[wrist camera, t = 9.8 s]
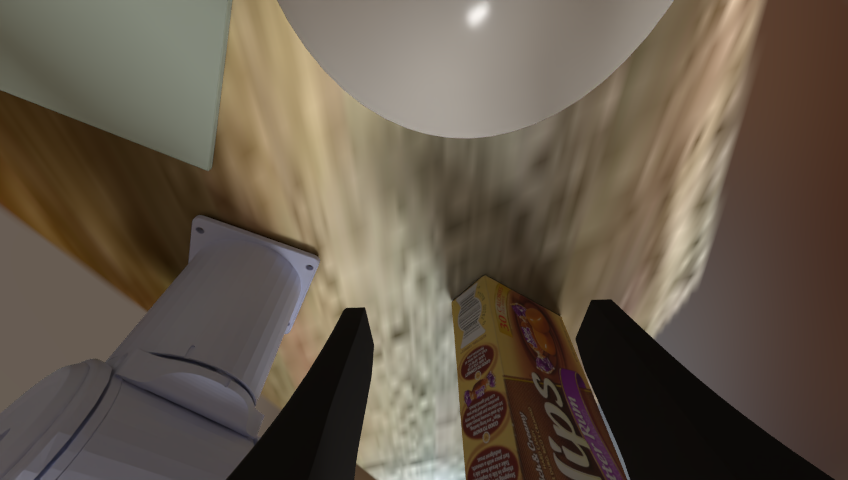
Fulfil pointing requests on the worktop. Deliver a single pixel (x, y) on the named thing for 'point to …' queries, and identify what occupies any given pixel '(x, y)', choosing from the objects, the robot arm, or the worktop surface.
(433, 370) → the worktop surface
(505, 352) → the candy box
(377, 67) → the lid
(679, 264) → the worktop surface
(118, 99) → the mat
